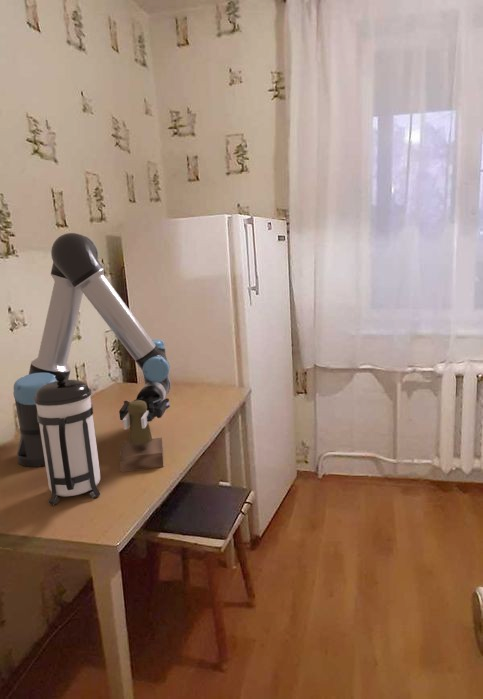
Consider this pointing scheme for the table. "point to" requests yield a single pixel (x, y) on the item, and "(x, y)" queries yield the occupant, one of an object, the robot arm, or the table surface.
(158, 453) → the walnut base
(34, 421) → the robot arm
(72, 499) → the table surface
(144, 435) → the olive pawn
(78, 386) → the coffee press
